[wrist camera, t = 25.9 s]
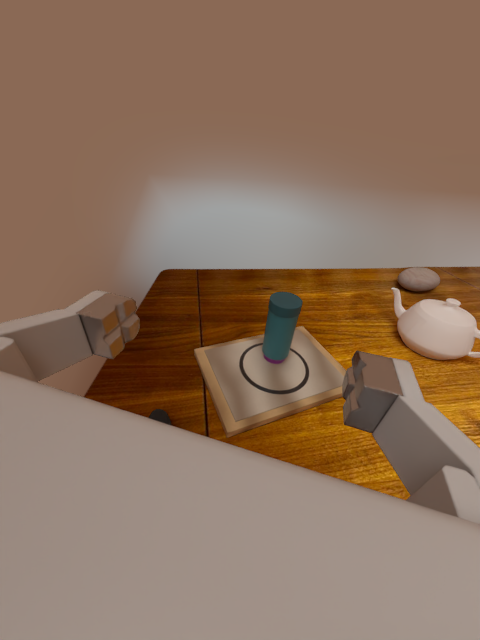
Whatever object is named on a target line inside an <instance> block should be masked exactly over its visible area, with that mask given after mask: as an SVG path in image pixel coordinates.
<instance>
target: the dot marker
mask: <svg viewBox="0 0 480 640" xmlns="http://www.w3.org/2000/svg"><path fill="white" fill-rule="evenodd" d="M301 307H302V300H301V299H300V298H299V297H298V296H296V295H294V294H292V293H288V292H277V293H274V294H272V295H271V296H270V301H269V311H268V317H267V323H266V329H265V335H264V340H263V346H262V351H263V353H264V358H265V359H266V360H267V361H268V362H270V363H273V364H279V363H282V362H283V361H284V360H285V358H287V356H288V355H289V351H290V347H291V343H292V339H293V335H294V331H295V327H296V324H297V320H298V316H299V314H300V311H301Z"/></svg>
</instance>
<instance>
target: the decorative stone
mask: <svg viewBox="0 0 480 640" xmlns="http://www.w3.org/2000/svg"><path fill="white" fill-rule="evenodd" d="M398 282H399V284H400V285H401V286H402V287H403V288H405V289H407V290H411V291H428V290H431V289H434V288H435V287H437V286H438V285H439V283H440V278H439V276H438V275H437V274H436V273H435V272H434V271H432V270H429V269H426V268H420V267H415V268H409V269H406V270H404V271H403V272H401V273H400V274H399V276H398Z"/></svg>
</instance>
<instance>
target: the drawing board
mask: <svg viewBox="0 0 480 640" xmlns="http://www.w3.org/2000/svg"><path fill="white" fill-rule="evenodd" d="M264 335H265V334H263V335H258V336H254V337H249V338H244V339H240V340H235V341H230V342H226V343H221V344H216V345H212V346H207V347H202V348H198V349H194V355H195V357H196V360H197V362H198V365H199V368H200V370H201V373H202V375H203V378H204V380H205V383H206V385H207V388H208V391H209V393H210V396H211V398H212V401H213V403H214V406H215V408H216V411H217V414H218V416H219V419H220V421H221V424H222V426H223V429H224V431H225V434H226V437H227V438H228V437H231V436H233V435H236V434H239V433H242V432H245V431H247V430H250V429H253V428H256V427H259V426H261V425H264V424H267V423H270V422H273V421H275V420H278V419H281V418H284V417H287V416H290V415H292V414H295V413H298V412H301V411H304V410H306V409H309V408H312V407H315V406H318V405H320V404H323V403H326V402H329V401H332V400H334V399H337V398H340V397H343V396H342V384H343V380H344V376H345V374H346V370H345V369H344V368H343V367H342V366H341V365H340V364H339V363H338V362H337V361H336V360H335V359H334V358H333V357H332V356H331V355H330V354H329V353H328V352H327V351H326V350H325V349H324V348H323V347H322V346H321V345H320V344H319V343H318V341H317V340H316V339H315V338H314V337H313V336H312V335H311V334H310V333H309V332H308V331H307V330H306V329H305V328H304V327H303V326H300V327H296V328H295V331H294V335H293V339H292V343H291V347H290V351H289V355H288V356H287V358H285V360H284V361H283V362H282V363H279V364H273V363H270V362H268V361H267V360H266V359H265V358H264V353H263V351H262V346H263V340H264Z"/></svg>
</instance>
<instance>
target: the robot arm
mask: <svg viewBox="0 0 480 640" xmlns="http://www.w3.org/2000/svg"><path fill="white" fill-rule="evenodd" d="M136 309H137V306H136V302H135V301H134V300H133V299H132V298H128V297H124V296H120V295H116V294H112V293H108V292H104V291H99V290H98V291H93V292H91V293H90V294H88V295H86V296H85V297H83V298H81V299H80V300H78V301H77V302H75V303H73V304H72V305H70V306H68V307H67V308H65V309H64V310H60V309H58V310H54V311H49V312H46V313H41V314H37V315H33V316H28V317H24V318H20V319H16V320H12V321H7V322H3V323H0V640H480V448H479V447H478V446H477V445H476V444H474V443H473V442H472V441H471V440H470V439H469V438H468V437H467V436H466V435H465V434H464V433H462V432H461V431H460V430H459V429H458V428H457V427H456V426H455V425H454V424H453V423H452V422H450V421H449V420H448V419H447V418H446V417H445V416H444V415H443V414H442V413H441V412H439V411H438V410H437V409H436V408H435V407H434V406H433V405H432V404H431V403H427V402H425V400H424V398H423V395H422V393H421V390H420V388H419V385H418V382H417V380H416V377H415V375H414V372H413V370H412V367H411V364H410V363H409V362H408V361H405V360H400V359H395V358H387V357H383V356H379V355H374V354H370V353H365V352H361V351H356V352H355V354H354V356H353V358H352V367H350V368H348V369H347V371H346V374H345V376H344V380H343V384H342V396H343V398H344V399H345V400H346V402H345V404H344V406H343V415H344V425H347V426H350V427H354V428H357V429H360V430H363V431H366V432H370V433H373V434H372V435H373V437H374V438H375V440H376V442H377V443H378V445H379V446H380V448H381V449H382V451H383V453H384V454H385V456H386V457H387V459H388V460H389V462H390V463H391V465H392V467H393V468H394V470H395V471H396V473H397V474H398V476H399V478H400V479H401V481H402V482H403V484H404V485H405V487H406V489H407V490H408V492H409V493H410V495H411V496H410V497H409V498H408V499H407V500H402V499H399V498H396V497H393V496H390V495H387V494H384V493H381V492H378V491H374V490H371V489H368V488H365V487H362V486H359V485H356V484H353V483H349V482H346V481H343V480H340V479H337V478H334V477H331V476H328V475H325V474H321V473H318V472H315V471H312V470H309V469H306V468H303V467H300V466H296V465H293V464H290V463H287V462H284V461H281V460H278V459H275V458H271V457H268V456H265V455H262V454H259V453H256V452H253V451H250V450H246V449H243V448H240V447H237V446H234V445H231V444H228V443H224V442H221V441H218V440H215V439H212V438H209V437H206V436H203V435H199V434H196V433H193V432H190V431H187V430H184V429H181V428H178V427H174V426H171V425H168V424H165V423H162V422H159V421H156V420H153V419H150V418H147V417H143V416H140V415H137V414H134V413H131V412H128V411H125V410H122V409H119V408H116V407H112V406H109V405H106V404H103V403H100V402H97V401H94V400H91V399H87V398H84V397H81V396H78V395H75V394H72V393H69V392H66V391H63V390H59V389H56V388H53V387H50V386H47V385H44V384H41V383H38V381H40V380H42V379H44V378H46V377H48V376H50V375H52V374H54V373H57V372H59V371H61V370H63V369H65V368H67V367H69V366H71V365H73V364H75V363H77V362H80V361H82V360H84V359H86V358H88V357H90V356H92V355H93V354H94V355H99V356H102V357H106V358H110V359H114V358H115V357H116V356H117V355H118V354H119V353H120V352H121V351H122V350H123V349H124V345H125V343H127V342H129V341H132V340H133V339H134V338H135V337H136V335H137V333H138V331H139V327H140V322H139V318H138V316H137V315H136V314H135V311H136Z"/></svg>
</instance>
